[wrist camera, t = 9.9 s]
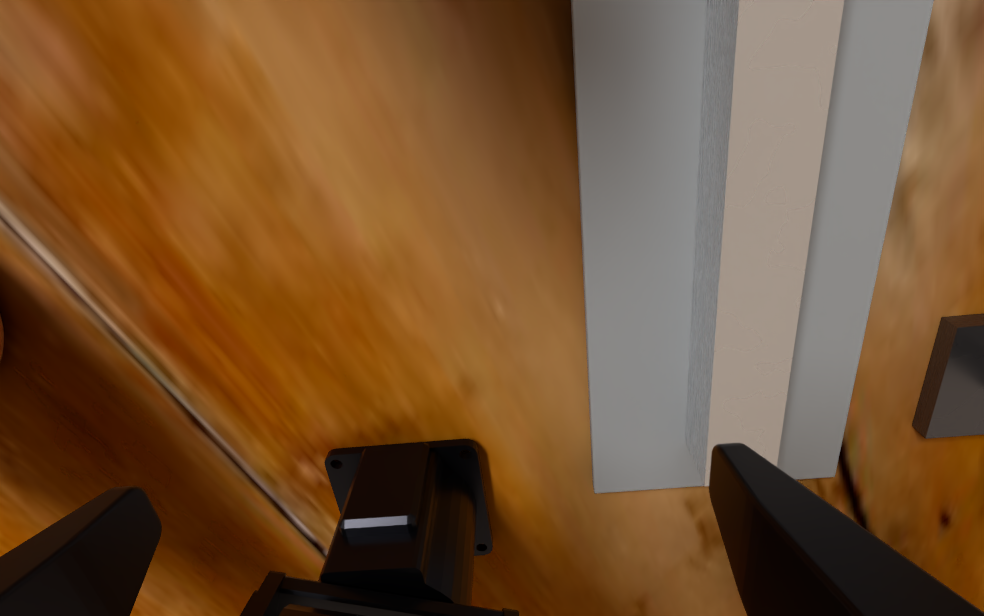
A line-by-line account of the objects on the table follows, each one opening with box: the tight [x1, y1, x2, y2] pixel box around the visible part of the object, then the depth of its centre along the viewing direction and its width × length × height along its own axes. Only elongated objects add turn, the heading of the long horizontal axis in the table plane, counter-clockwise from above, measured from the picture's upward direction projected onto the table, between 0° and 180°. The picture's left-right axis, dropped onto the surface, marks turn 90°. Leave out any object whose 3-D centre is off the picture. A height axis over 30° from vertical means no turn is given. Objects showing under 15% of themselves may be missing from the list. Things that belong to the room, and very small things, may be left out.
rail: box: [685, 0, 844, 486], centre depth 16 cm, size 23×2×2 cm, turn 7°
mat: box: [571, 0, 934, 493], centre depth 18 cm, size 28×10×1 cm, turn 7°
